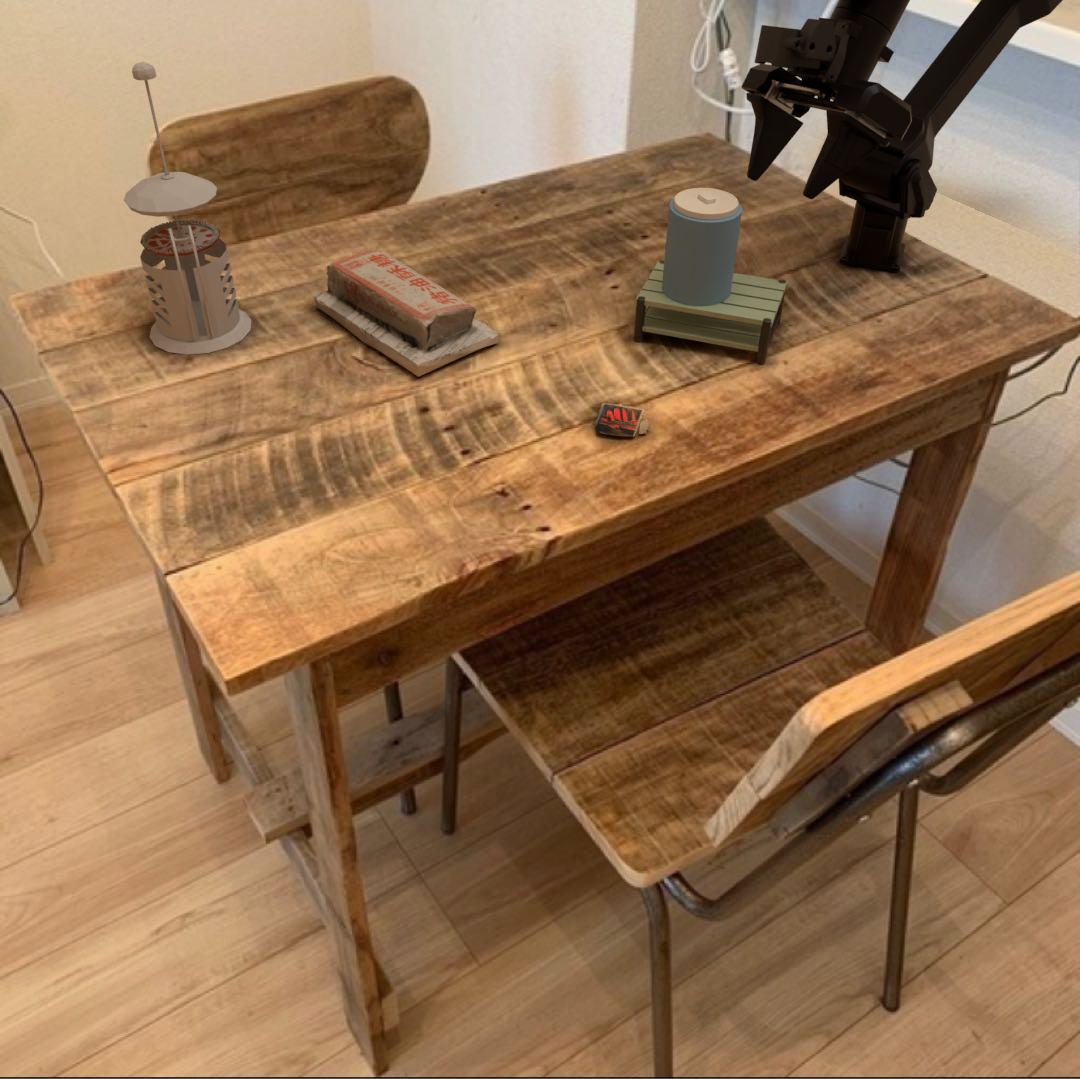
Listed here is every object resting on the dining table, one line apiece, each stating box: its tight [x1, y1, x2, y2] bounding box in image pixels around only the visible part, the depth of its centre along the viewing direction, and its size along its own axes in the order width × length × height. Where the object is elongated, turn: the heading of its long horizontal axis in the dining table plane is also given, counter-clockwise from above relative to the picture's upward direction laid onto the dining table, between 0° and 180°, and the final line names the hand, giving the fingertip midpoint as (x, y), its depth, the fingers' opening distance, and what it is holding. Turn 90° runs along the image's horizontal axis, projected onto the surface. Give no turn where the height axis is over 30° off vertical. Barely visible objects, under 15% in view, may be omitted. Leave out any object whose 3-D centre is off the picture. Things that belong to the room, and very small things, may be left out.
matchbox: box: [594, 402, 651, 439], centre depth 93 cm, size 5×5×1 cm
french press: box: [123, 61, 252, 356], centre depth 97 cm, size 10×12×25 cm
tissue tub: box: [662, 187, 743, 306], centre depth 100 cm, size 7×7×9 cm
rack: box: [633, 259, 788, 365], centre depth 104 cm, size 9×13×4 cm
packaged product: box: [314, 249, 500, 378], centre depth 104 cm, size 18×5×10 cm
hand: (778, 187), depth 101 cm, fingers open, 9 cm apart
